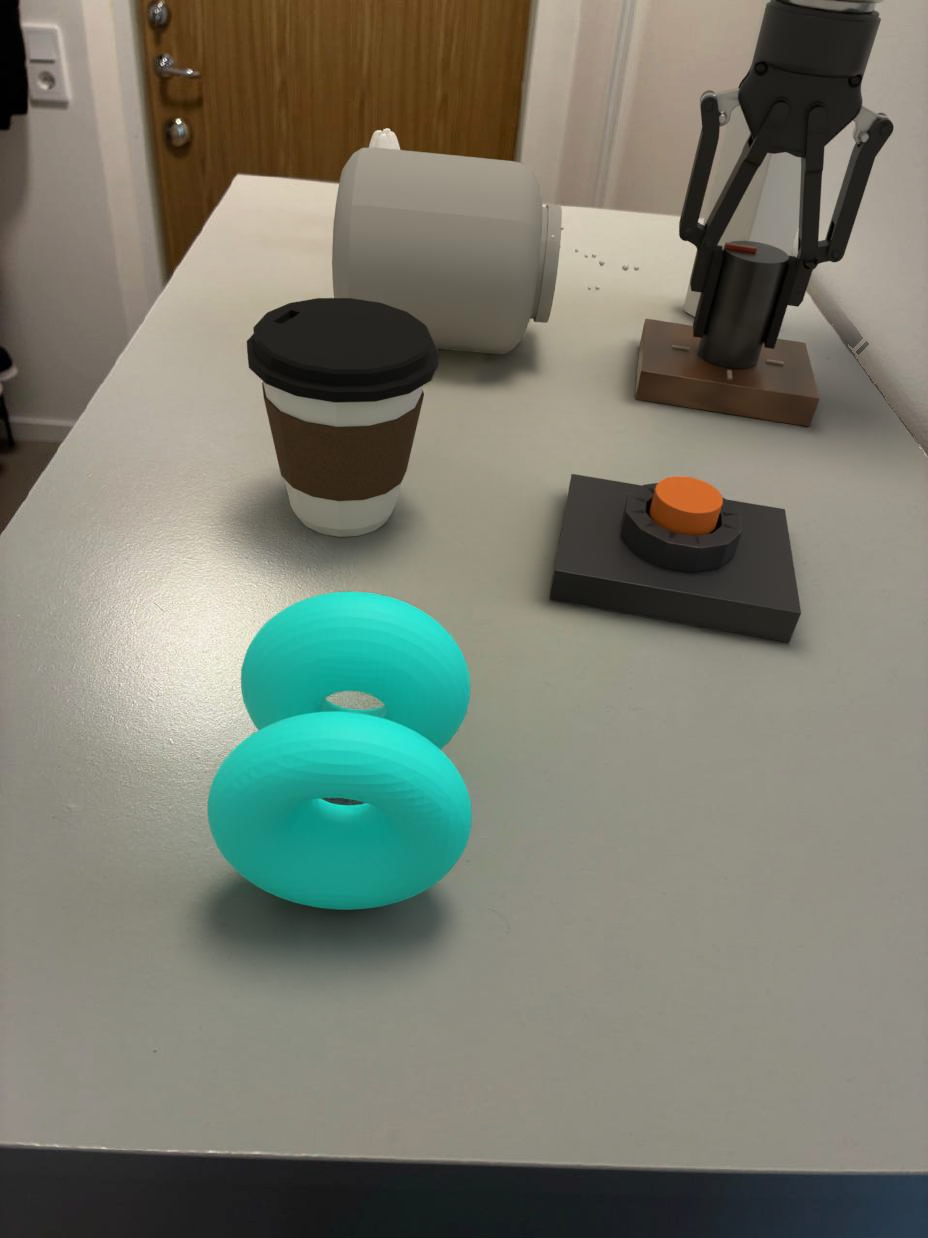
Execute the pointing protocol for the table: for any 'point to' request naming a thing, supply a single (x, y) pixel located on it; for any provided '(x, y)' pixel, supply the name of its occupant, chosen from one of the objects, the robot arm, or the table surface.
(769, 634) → the grey button base
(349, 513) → the coffee cup
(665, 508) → the power button
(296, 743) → the donuts
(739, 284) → the temp dial
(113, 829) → the table surface
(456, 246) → the jar
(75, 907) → the table surface
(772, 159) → the milk
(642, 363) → the dial panel
